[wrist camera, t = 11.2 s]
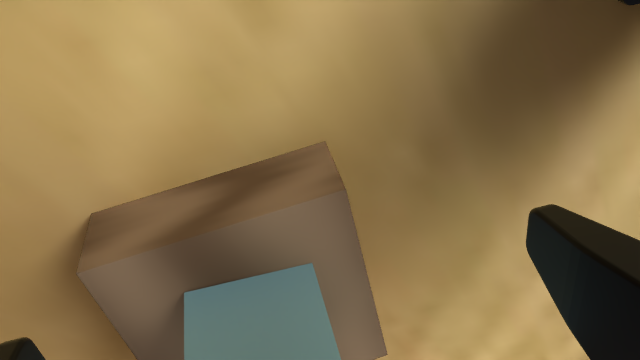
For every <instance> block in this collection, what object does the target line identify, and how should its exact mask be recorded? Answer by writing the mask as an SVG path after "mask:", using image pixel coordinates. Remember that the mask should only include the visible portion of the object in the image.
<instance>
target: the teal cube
mask: <svg viewBox="0 0 640 360" xmlns="http://www.w3.org/2000/svg"><path fill="white" fill-rule="evenodd" d="M184 360H341V357H340V354H339V351H338V347H337V344H336V341H335V337H334V334H333V331H332V327H331V324H330V320H329V317H328V314H327V310H326V307H325V304H324V300H323V297H322V294H321V290H320V287H319V284H318V280H317V277H316V274H315V270H314V267H313V264H312V263H309V264H305V265H300V266H296V267H292V268H288V269H283V270H279V271H275V272H270V273H266V274H262V275H258V276H253V277H249V278H245V279H240V280H236V281H232V282H228V283H223V284H219V285H215V286H210V287H206V288H202V289H198V290H193V291H189V292H185V293H184Z"/></svg>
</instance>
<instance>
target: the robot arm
mask: <svg viewBox="0 0 640 360" xmlns="http://www.w3.org/2000/svg"><path fill="white" fill-rule="evenodd" d="M618 1H620V2H622V3H624V4H627V5H635V4H640V0H618ZM526 247H527V251H528V254H529V256H530V258H531V260H532V261H533V263H534V265H535V267H536V269H537V271H538V273H539V275H540V276H541V278H542V280H543V282H544V284H545V286H546V288H547V289H548V291H549V293H550V295H551V297H552V299H553V301H554V303H555V304H556V306H557V308H558V310H559V312H560V314H561V315H562V317H563V319H564V321H565V322H566V324H567V326H568V327H569V329H570V330H571V332H572V333H573V335H574V336H575V338H576V339H577V341H578V342H579V344H580V345H581V347H582V348H583V350H584V351H585V352H586V354H587V355H588V357H589V358H590V360H640V240H637V239H635V238H633V237H630V236H628V235H626V234H623V233H621V232H618V231H616V230H614V229H611V228H609V227H607V226H604V225H602V224H600V223H597V222H595V221H593V220H590V219H588V218H585V217H583V216H581V215H578V214H576V213H574V212H571V211H569V210H567V209H564V208H562V207H559V206H557V205H553V204H551V205H546V206H542V207H538V208H534V209H532V210H531V211H530V213H529V218H528V228H527V237H526ZM0 360H45V358H44V357H43V355H42V354H41V353H40V351H39V350H38V348H37V347H36V346H35V344H34V343H33V342H32V340H31V339H29V338H27V337H25V338H24V337H23V338H19V339H15V340H11V341H7V342H4V343H1V344H0Z"/></svg>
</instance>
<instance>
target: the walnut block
mask: <svg viewBox="0 0 640 360" xmlns="http://www.w3.org/2000/svg"><path fill="white" fill-rule="evenodd" d="M309 263H312V264H313V267H314V270H315V274H316V277H317V280H318V284H319V287H320V290H321V294H322V297H323V300H324V304H325V307H326V310H327V314H328V317H329V320H330V324H331V327H332V331H333V334H334V337H335V341H336V344H337V347H338V351H339V354H340V357H341V360H374V359H377V358H380V357H383V356H386V355H387V351H386V347H385V343H384V339H383V335H382V331H381V327H380V323H379V319H378V315H377V311H376V307H375V303H374V299H373V295H372V291H371V287H370V283H369V279H368V275H367V271H366V267H365V263H364V259H363V255H362V251H361V247H360V244H359V240H358V236H357V232H356V228H355V224H354V220H353V216H352V212H351V208H350V204H349V200H348V196H347V192H346V189H345V186H344V184H343V182H342V179H341V177H340V175H339V172H338V170H337V168H336V165H335V163H334V161H333V158H332V156H331V154H330V151H329V149H328V147H327V144H326V142H325V141H324V142H321V143H318V144H314V145H311V146H308V147H305V148H301V149H298V150H295V151H292V152H289V153H285V154H282V155H279V156H276V157H272V158H269V159H266V160H263V161H260V162H256V163H253V164H250V165H247V166H243V167H240V168H237V169H234V170H231V171H227V172H224V173H221V174H218V175H214V176H211V177H208V178H205V179H202V180H198V181H195V182H192V183H189V184H185V185H182V186H179V187H176V188H173V189H169V190H166V191H163V192H160V193H157V194H153V195H150V196H147V197H144V198H140V199H137V200H134V201H131V202H128V203H124V204H121V205H118V206H115V207H111V208H108V209H105V210H102V211H99V212H95V213H92V214H91V218H90V222H89V225H88V229H87V233H86V237H85V241H84V245H83V249H82V252H81V256H80V260H79V264H78V268H77V272H76V274H77V276H78V277H79V279H80V280H81V281H82V283H83V284H84V286H85V287H86V288H87V290H88V291H89V293H90V294H91V295H92V297H93V298H94V300H95V301H96V302H97V304H98V305H99V306H100V308H101V309H102V311H103V312H104V313H105V315H106V316H107V318H108V319H109V320H110V322H111V323H112V325H113V326H114V327H115V329H116V330H117V332H118V333H119V334H120V336H121V337H122V339H123V340H124V341H125V343H126V344H127V346H128V347H129V348H130V350H131V351H132V353H133V354H134V355H135V357H136V358H137V360H184V293H185V292H189V291H193V290H198V289H202V288H206V287H210V286H215V285H219V284H223V283H228V282H232V281H236V280H240V279H245V278H249V277H253V276H258V275H262V274H266V273H270V272H275V271H279V270H283V269H288V268H292V267H296V266H300V265H305V264H309Z"/></svg>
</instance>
